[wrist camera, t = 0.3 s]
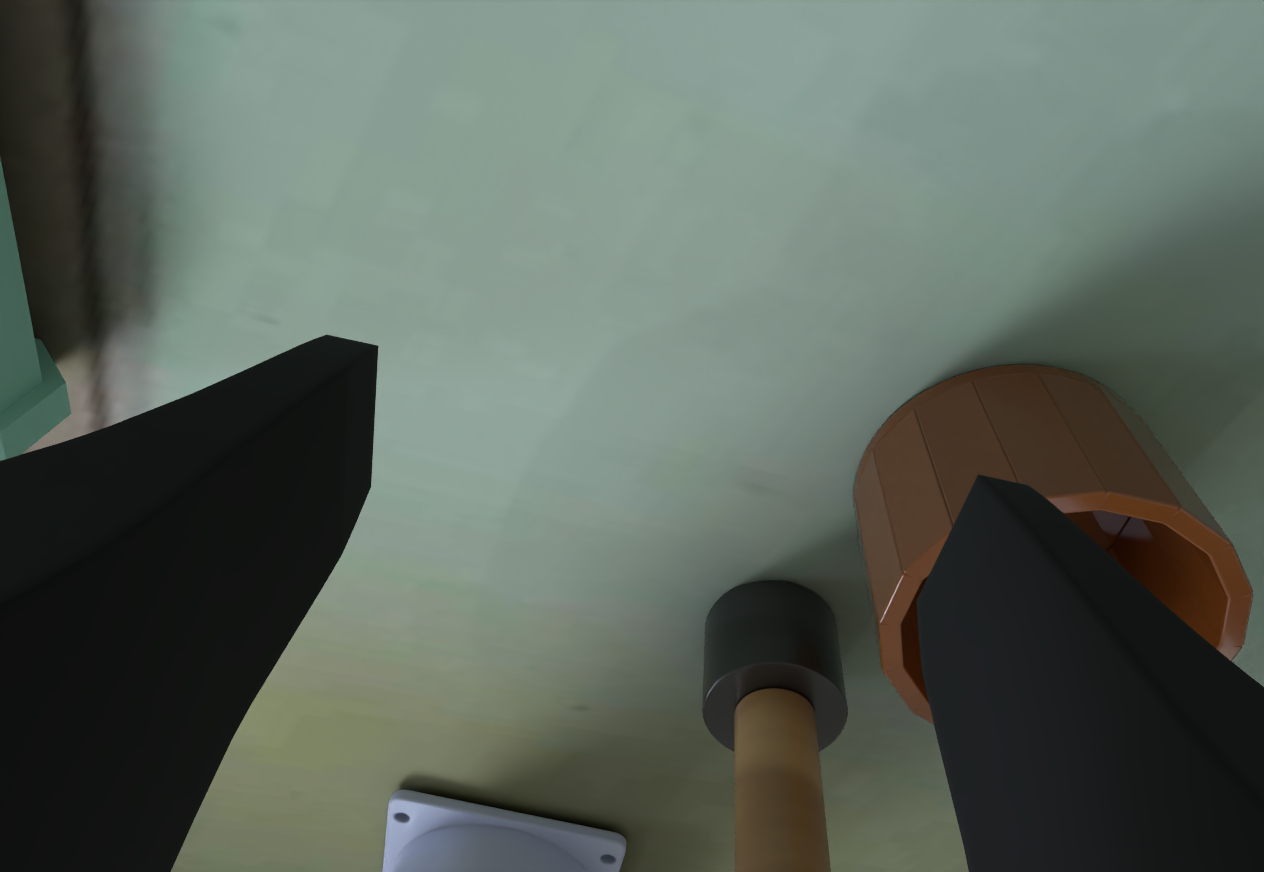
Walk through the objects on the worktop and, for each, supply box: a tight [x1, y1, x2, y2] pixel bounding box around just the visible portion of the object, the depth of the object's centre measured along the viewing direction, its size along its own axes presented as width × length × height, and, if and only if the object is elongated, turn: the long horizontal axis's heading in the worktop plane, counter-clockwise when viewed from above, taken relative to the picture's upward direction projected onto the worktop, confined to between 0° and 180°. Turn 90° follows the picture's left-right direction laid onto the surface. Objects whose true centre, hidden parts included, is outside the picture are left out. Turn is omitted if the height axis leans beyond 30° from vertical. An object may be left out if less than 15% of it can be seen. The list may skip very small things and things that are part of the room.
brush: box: [702, 581, 848, 872], centre depth 22 cm, size 4×4×8 cm
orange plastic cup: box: [853, 364, 1253, 725], centre depth 20 cm, size 7×7×5 cm
